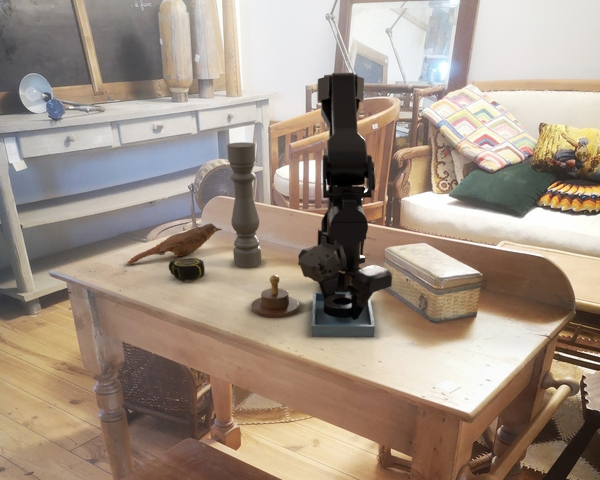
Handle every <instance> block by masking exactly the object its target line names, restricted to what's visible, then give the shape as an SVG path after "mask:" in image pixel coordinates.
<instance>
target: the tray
mask: <svg viewBox="0 0 600 480" xmlns="http://www.w3.org/2000/svg"><path fill="white" fill-rule="evenodd" d="M335 294H348V295H351V293H350V292H336V293H335ZM375 332H376V324H375V318H374V312H373V305H372V301H371V297H370V298H369V300H368V302H367V303H366V305H365V307H364V309H363V311H362V312H361V314H360V316H359V318H358V319H356V320H353V319H352V317H348V318H337V317H332V316H329V315H327V314H326V313H324V298H323V295H322V292H320V291H319V292H317V291H313V292H312V307H311V337H339V338H340V337H344V338H345V337H347V338H348V337H350V338H351V337H352V338H354V337H356V338H358V337H359V338H362V337H363V338H367V337H368V338H375Z"/></svg>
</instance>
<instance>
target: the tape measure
mask: <svg viewBox="0 0 600 480" xmlns="http://www.w3.org/2000/svg"><path fill="white" fill-rule="evenodd" d="M168 270H169V271H170V274H171V275H172V276H173V277H174V278H175V279H176V280H179V281H189V282H191V281H196V280H198V279H201V278H203V277H204V276H205V273H206V272H205V271H206V270H205V262H204V260H203V259H201V258H198V257H187V258H181V259H174V260H171V261H169V262H168Z"/></svg>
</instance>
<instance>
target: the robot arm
mask: <svg viewBox="0 0 600 480" xmlns="http://www.w3.org/2000/svg"><path fill="white" fill-rule="evenodd" d="M316 84H317V87H316V91H317V92H316V94H317V95H316V96H317V97H316V98H317V99H316V102H317V104H320V116H321V117H322V119H323V121H324V123H325V125H326V126H327V128H328V139H327V140H326V154H323V155H322V163H321V164H322V165H321V166H322V167H321V168H322V169H321V170H322V172H321V175H322V177H321V178H322V199H327V210H326V211H325V213H324V215H323V217H322V219H321V222H320V229H317V238H316V239H317V240H316V245H314V246H309V247H306V248H303V249H301V251H300V252H299V254H298V258H297V259H298V266H299V267H300V269H301V272H302V275H303V277H305V278H309V279H311V280H313V282H317V284H318V286H319V289H320V291H321V292H322V295H323V298H324V299H325V298H326V297H328V296H331V295H335V293H336V292H350V293H351V305H352V319H353V320H356V319H358V318H359V316H360V314H361V312H362V311H363V309H364V307H365V305H366V303H367V302H368V300H369V298H370V299H371V297H372V296H373V294H374V293H376V292H380V291H382V290H385V289H388V288H390V287H391V288H392V284H393V273H392V272H391V271H390V270H389V269H387V268H384V267H382V266H379V265H376V264H372V265H369V266H366V267H363V268H362V267H360V265H362V264H365V263H366V256H364V246H365V240H367V233H368V230H369V222H368V220H367V215H366V213H365V210H364V207H363V205H364V204H363V201H364V199H365V198H368V199H369V198H370V199H371V198H373V191H375V189H376V177H375V176H376V174H375V173H376V172H375V171H376V170H375V162H374V161H373V156H372V155H371V154H368V148H367V147H368V146H367V141H366V139H365V138H364V137H363V136H361V135H360V133H359V130H358V129H359V128H358V113H359V108H360V103H361V104H362V103H363V102H364V101H365V77H361V76H358V74H357V73H354V72H332V73H331V74H323V77H320V78H317V83H316ZM365 184H366V185H365ZM327 186H328V189H327Z"/></svg>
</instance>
